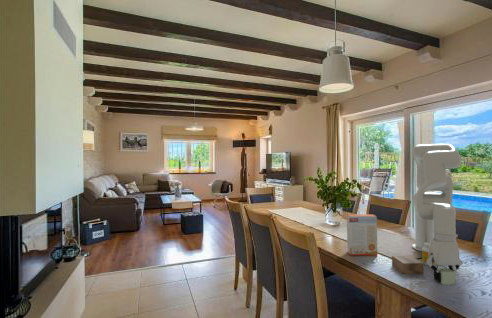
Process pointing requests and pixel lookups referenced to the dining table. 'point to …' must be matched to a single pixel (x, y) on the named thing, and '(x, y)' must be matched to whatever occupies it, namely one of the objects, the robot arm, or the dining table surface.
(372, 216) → the cracker box
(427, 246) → the supplement bottle
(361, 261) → the dining table surface
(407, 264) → the walnut block
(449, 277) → the sage cube
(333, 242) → the dining table surface
